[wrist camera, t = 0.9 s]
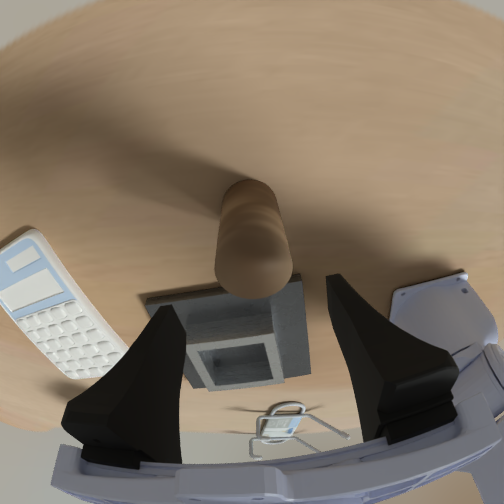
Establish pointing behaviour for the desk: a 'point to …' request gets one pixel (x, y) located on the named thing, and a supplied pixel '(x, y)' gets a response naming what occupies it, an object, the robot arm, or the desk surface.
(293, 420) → the wall mount rack
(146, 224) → the desk surface
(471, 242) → the desk surface
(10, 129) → the desk surface
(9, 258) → the calculator
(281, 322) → the docking plate
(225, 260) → the wooden cylinder
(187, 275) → the desk surface
